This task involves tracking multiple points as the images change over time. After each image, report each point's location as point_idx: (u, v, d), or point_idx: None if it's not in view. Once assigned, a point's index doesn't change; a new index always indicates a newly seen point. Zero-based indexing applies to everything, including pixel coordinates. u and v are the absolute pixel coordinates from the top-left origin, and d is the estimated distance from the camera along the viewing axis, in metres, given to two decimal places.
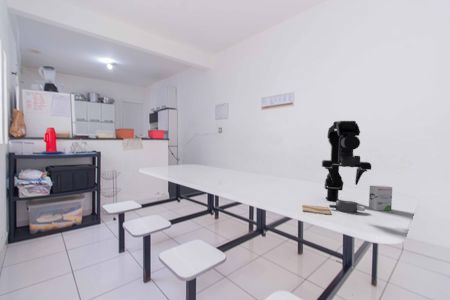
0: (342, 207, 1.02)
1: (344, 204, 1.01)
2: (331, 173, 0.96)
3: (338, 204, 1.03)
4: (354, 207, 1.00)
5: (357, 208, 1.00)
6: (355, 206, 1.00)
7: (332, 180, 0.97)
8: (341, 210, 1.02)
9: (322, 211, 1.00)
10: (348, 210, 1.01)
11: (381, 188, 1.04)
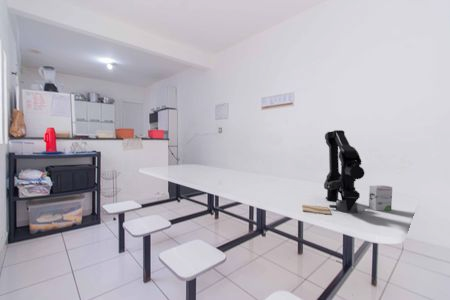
0: (342, 207, 1.02)
1: (344, 204, 1.01)
2: (341, 195, 1.08)
3: (338, 204, 1.03)
4: (354, 207, 1.00)
5: (357, 208, 1.00)
6: (355, 206, 1.00)
7: None
8: (341, 210, 1.02)
9: (322, 211, 1.00)
10: None
11: (381, 188, 1.04)
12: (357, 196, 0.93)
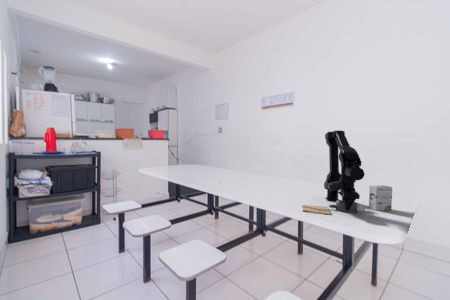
0: (342, 207, 1.02)
1: (344, 204, 1.01)
2: (342, 198, 1.06)
3: (338, 204, 1.03)
4: (354, 207, 1.00)
5: (357, 208, 1.00)
6: (355, 206, 1.00)
7: None
8: (341, 210, 1.02)
9: (322, 211, 1.00)
10: (348, 210, 1.01)
11: (381, 188, 1.04)
12: (357, 197, 0.93)
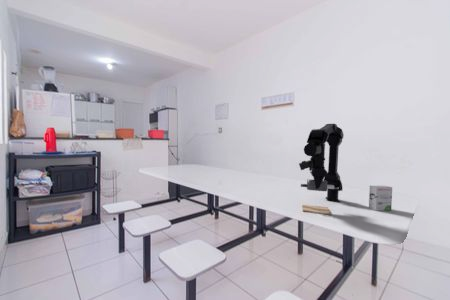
0: (312, 185, 1.02)
1: (314, 182, 1.02)
2: (313, 177, 1.06)
3: (309, 182, 1.03)
4: (323, 186, 1.00)
5: (327, 186, 1.00)
6: (325, 184, 1.00)
7: None
8: (311, 188, 1.02)
9: (322, 211, 1.00)
10: None
11: (381, 188, 1.04)
12: (324, 174, 0.93)
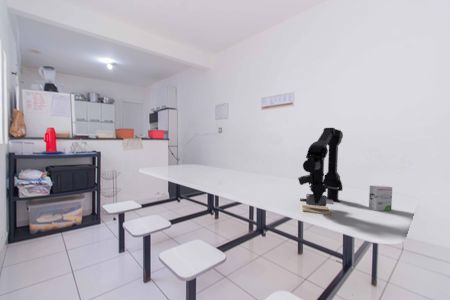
0: (311, 200, 1.02)
1: (313, 197, 1.02)
2: None
3: (308, 197, 1.03)
4: (323, 201, 1.01)
5: (326, 201, 1.01)
6: (324, 199, 1.01)
7: None
8: (310, 203, 1.02)
9: (322, 211, 1.00)
10: None
11: (381, 188, 1.04)
12: (323, 190, 0.94)
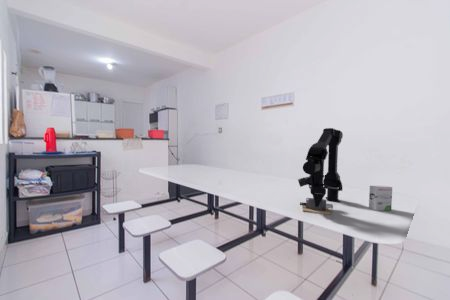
0: (311, 205, 1.02)
1: (313, 202, 1.02)
2: None
3: (308, 201, 1.03)
4: (322, 205, 1.01)
5: (326, 206, 1.01)
6: (324, 204, 1.01)
7: None
8: (310, 208, 1.02)
9: (322, 211, 1.00)
10: (317, 208, 1.02)
11: (381, 188, 1.04)
12: (323, 192, 0.94)
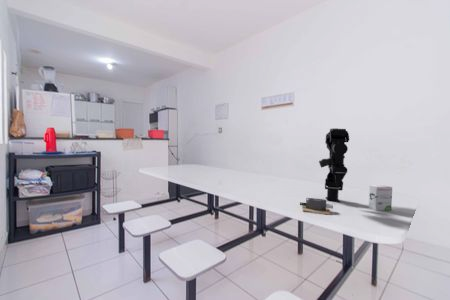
0: (311, 205, 1.02)
1: (313, 202, 1.02)
2: (332, 173, 1.14)
3: (308, 201, 1.03)
4: (322, 205, 1.01)
5: (326, 206, 1.01)
6: (324, 204, 1.01)
7: (333, 179, 1.14)
8: (310, 208, 1.02)
9: (322, 211, 1.00)
10: (317, 208, 1.02)
11: (381, 188, 1.04)
12: (345, 171, 0.99)
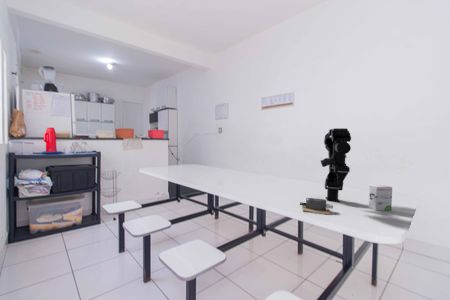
0: (311, 205, 1.02)
1: (313, 202, 1.02)
2: (333, 173, 1.15)
3: (308, 201, 1.03)
4: (322, 205, 1.01)
5: (326, 206, 1.01)
6: (324, 204, 1.01)
7: (334, 179, 1.14)
8: (310, 208, 1.02)
9: (322, 211, 1.00)
10: (317, 208, 1.02)
11: (381, 188, 1.04)
12: (347, 170, 0.99)
